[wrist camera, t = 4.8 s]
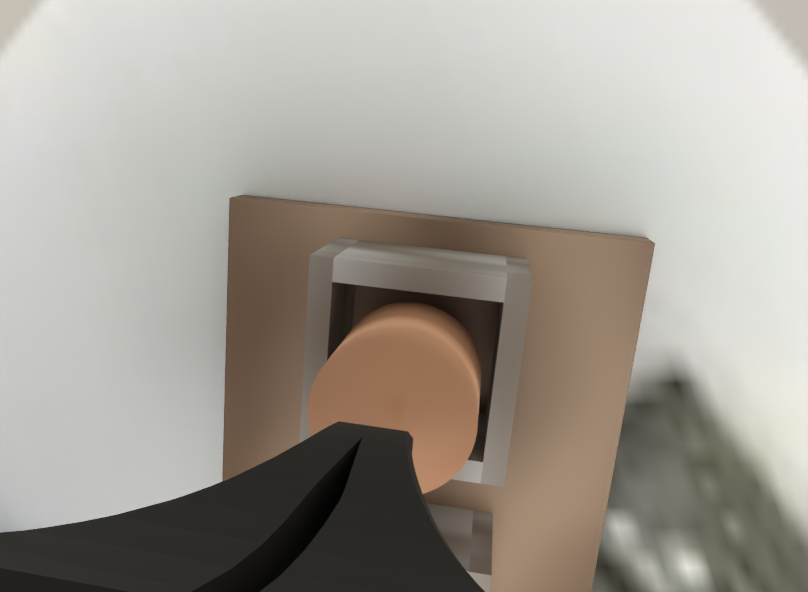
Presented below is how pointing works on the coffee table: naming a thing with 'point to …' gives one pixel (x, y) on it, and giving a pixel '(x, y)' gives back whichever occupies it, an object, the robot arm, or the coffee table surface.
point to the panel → (498, 349)
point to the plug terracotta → (406, 385)
